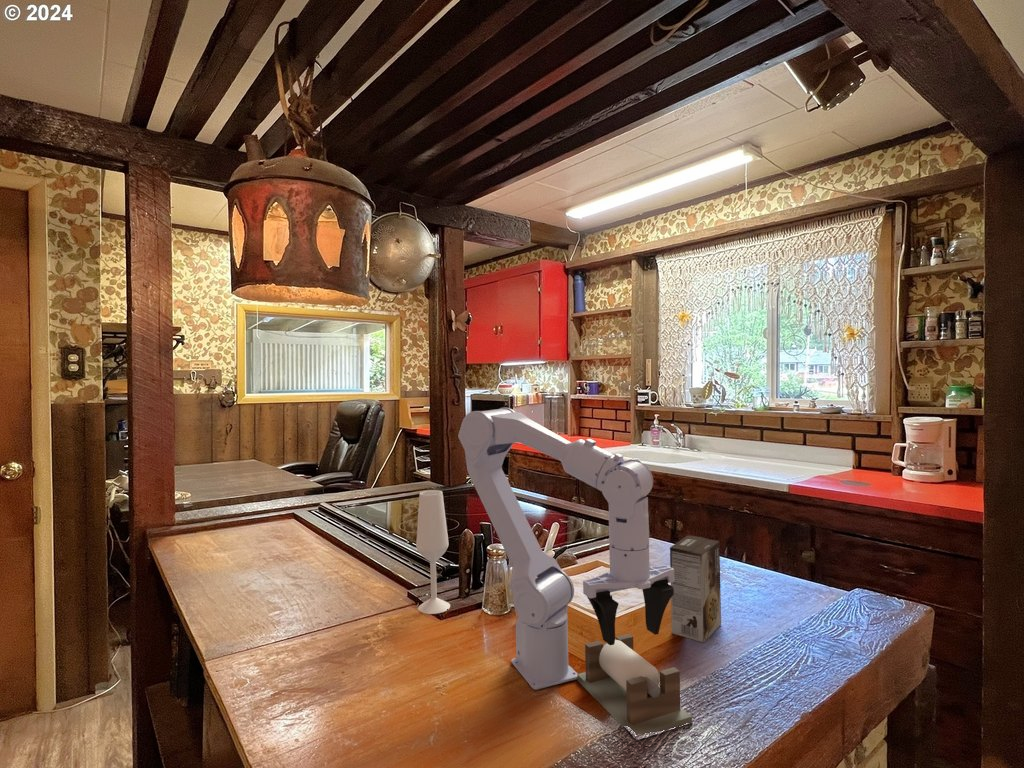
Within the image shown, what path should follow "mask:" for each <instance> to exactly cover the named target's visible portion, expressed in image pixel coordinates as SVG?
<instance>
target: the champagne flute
mask: <svg viewBox="0 0 1024 768" xmlns="http://www.w3.org/2000/svg"><path fill="white" fill-rule="evenodd" d="M443 493H444V492H443V491H442V490H437V489H433V490H432V489H431V490H424V491H421V492H419V496H418V511H417V512H418V513H417V515H418V516H417V526H416V527H417V529H416V540H415V541H416V544H415V545H416V546H415V547H416V551H418V553H419V554H420V555H421V556H422V557H423V558H424V559H425V560H426V561H429V565H430V566H429V567H430V568H429V569H430V570H429V571H430V597H431V598H428V599H427V600H426V601H424V602H423V603H421V604H420V605H419V606H418V607H417V610H418V611H419V612H421V613H422V614H425V615H426V614H430V615H435V614H436V615H437V614H440V613H444V612H446V611H448V610H449V609H450V608H451V604H450V603H449V602H448V601H446V600H443V599H442V598H441V599H440V598H439V597H438V596H437V595H438V594H437V593H438V592H437V591H438V589H437V561H438V560H439V559H441V557H443V555H444V554H445V553H446V551H447V549H448V547H449V535H448V525H447V518H446V510H445V503H444V501H445V500H444V494H443ZM447 609H448V610H447Z"/></svg>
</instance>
